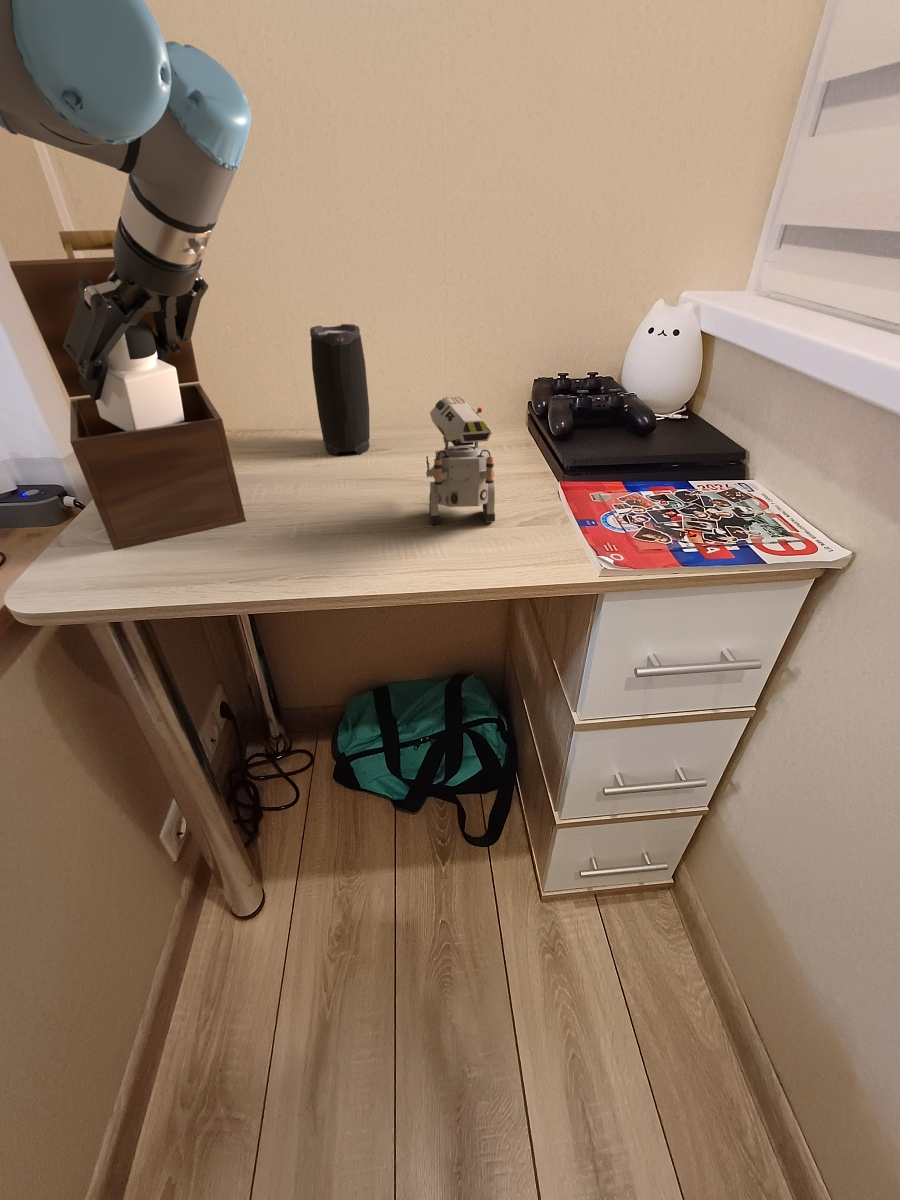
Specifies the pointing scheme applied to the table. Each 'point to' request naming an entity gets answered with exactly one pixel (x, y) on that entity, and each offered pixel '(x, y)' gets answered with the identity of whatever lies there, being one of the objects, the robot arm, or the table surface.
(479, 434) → the figurine
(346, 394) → the portable speaker
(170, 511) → the chest
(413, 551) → the table surface
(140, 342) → the medicine bottle
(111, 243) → the chest lid
